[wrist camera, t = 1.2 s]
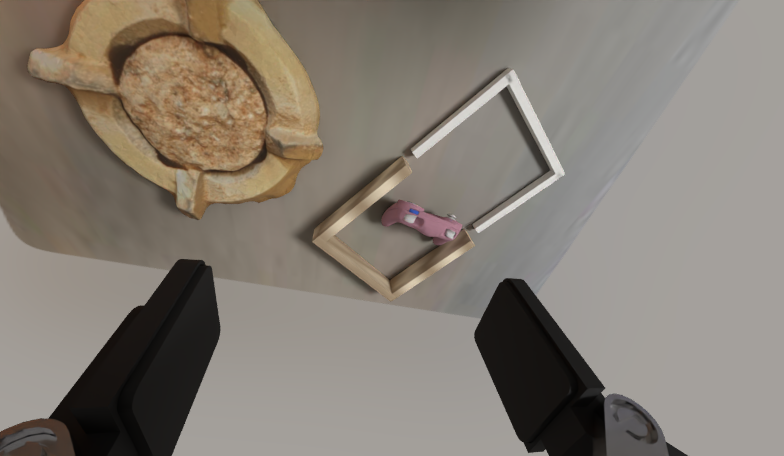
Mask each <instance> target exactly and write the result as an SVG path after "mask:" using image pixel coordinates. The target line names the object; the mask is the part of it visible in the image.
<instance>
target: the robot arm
mask: <svg viewBox="0 0 784 456" xmlns="http://www.w3.org/2000/svg"><path fill="white" fill-rule="evenodd" d="M474 335H475V337H474V338H475V342H476V344H477V346H478V349H479V351H480V353H481V355H482V358H483V360H484V362H485V364H486V367H487V369H488V371H489V373H490V376H491V378H492V380H493V383H494V385H495V387H496V389H497V392H498V394H499V396H500V398H501V401H502V403H503V405H504V407H505V409H506V412H507V414H508V416H509V419H510V421H511V423H512V425H513V428H514V430H515V432H516V435H517V436H518V438H519V439H520V440H521V441H522V442H524V444H525V446H526V449H527V451H528V453H531V452H543V451H544V450H545V449H546V450H547V453H548V454H549V456H687V455H686V454H684V453H683V452H681V451H680V450H678V449H677V448H675V447H673V446H672V445H670V444H669V443H667V442H666V441H665V437H664V435H663V432H662V430H661V428H660V426H659V425H658V423H657V422H656V421H655V419H654V418H653V417H652V416H651V415H650V414H649V413H648V412H647V411H646V410H645V409H644V408H643V407H642V406H640V405H639V404H637V403H636V402H635V401H633V400H632V399H630V398H628V397H625V396H623V395H619V394H609V395H608V396H607V397H606V398H604V396H603V395H602V393H601V392H602V391H603V390H604V389H605V387H604V386H603V384H602V383H601V382H600V380H599V379H598V378H597V376H596V375H595V374H594V372H593V371H592V370H591V368H590V367H589V366H588V364H587V363H586V362H585V360H584V359H583V358H582V356H581V355H580V354H579V352H578V351H577V350H576V348H575V347H574V346H573V344H572V343H571V342H570V340H569V339H568V338H567V337H566V335H565V334H564V333H563V331H562V330H561V329H560V328H559V326H558V325H557V323H556V322H555V321H554V319H553V318H552V317H551V316H550V314H549V313H548V311H547V310H546V309H545V307H544V306H543V305H542V303H541V302H540V301H539V299H537V297H536V295H535V294H534V293H533V291H532V290H531V289H530V287H529V286H528V285H527V283H526V282H525V281H524V280H522V279H511V278H506V279H504V280H503V282H501V283H499V285H498V287H497V289H496V291H495V293H494V295H493V297H492V299H491V301H490V303H489V305H488V307H487V309H486V311H485V312H484V314H483V316H482V318H481V320H480V323H479V324H478V326H477V328H476V330H475V334H474ZM219 336H220V322H219V316H218V308H217V302H216V294H215V287H214V281H213V273H212V268H211V266H206V265H205V262H204V261H202V260H188V259H180V260H178V261H177V262H176V263H175V265H174V266H173V267H172V269H171V270H170V271H169V273H168V274H167V275H166V277H165V278H164V280H163V281H162V282H161V284H160V285H159V287H158V288H157V289H156V291H155V292H154V293H153V295H152V296H151V297H150V299H149V300H148V302H147V303H146V304H145V306H138V307H136V308H134V309H133V310H132V311H131V312H130V313H129V314H128V315H127V317H126V318H125V319H124V321H123V322H122V323H121V325H120V326H119V327H118V329H117V330H116V331H115V332H114V334H113V335H112V336H111V338H110V339H109V340H108V341H107V343H106V344H105V345H104V347H103V348H102V349H101V351H100V352H99V353H98V354H97V356H96V357H95V359H94V360H93V361H92V362H91V364H90V365H89V366H88V368H87V369H86V370H85V372H84V373H83V374H82V375H81V377H80V378H79V379H78V381H77V382H76V383H75V384H74V386H73V387H72V388H71V390H70V391H69V392H68V394H67V395H66V396H65V397H64V399H63V400H62V401H61V403H60V404H59V405H58V407H57V408H56V409H55V411H54V412H53V413H52V415H51V416H50V417H49V418H48V419H42V418H40V419H36V420H31V421H26V422H22V423H20V424H17V425H14V426H12V427H9V428H7V429H5V430H3V431H1V432H0V456H172V454H173V451H174V449H175V446H176V443H177V441H178V439H179V436H180V433H181V431H182V429H183V426H184V424H185V421H186V419H187V416H188V414H189V411H190V409H191V406H192V404H193V402H194V399H195V397H196V394H197V392H198V389H199V387H200V384H201V382H202V379H203V377H204V374H205V372H206V369H207V367H208V365H209V362H210V360H211V357H212V355H213V352H214V350H215V347H216V345H217V342H218V340H219Z"/></svg>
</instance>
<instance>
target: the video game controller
mask: <svg viewBox="0 0 784 456" xmlns="http://www.w3.org/2000/svg"><path fill="white" fill-rule="evenodd" d="M448 216H450V217H440V216H437V215H434V214H431V213H427V212H426V213H425V212H424V209H423V208H421V207H419V206H417V205H416V204H414V203H411V202H408V201H407V202H406V201H402V200H398V202H397V203H395V204H393V205H392V206H390V207H389V208H388V209H387V210H386V211H385V212H384V214H383V216H382V225H383V226H390V225H392V224H394V223H396V222H400V223H402V224H405V225H407V226H409V227H412V228H414V229H416V230H418V231H419V232H420V233H422V234H424V235H426V236H430V237H433V243H434V244H435V245H442V244H444V243H446V242H448V241H452V240H454V239H455V238H456V237H457V235H458V234H459V232H460V230H461V228H462V224H460V223H458V222H457V221H455V219H454V218H456V217H455V216H454V215H452V214H448Z"/></svg>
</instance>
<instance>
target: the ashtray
mask: <svg viewBox="0 0 784 456" xmlns="http://www.w3.org/2000/svg"><path fill="white" fill-rule="evenodd" d="M27 69H28V72H29V73H30V75H31V76H32V77H34V78H37V79H40V80H44V81H47V82H50V83H58V84H62V85H65V86H66V87H67V88H68V90H69V91H70V92H71V93H72V94H73V96H74V98H75V99H76V101H77V102H78V104H79V106H80V108H81V110H82V112H83V115H84V117H85V118H86V120H87V121H88V123H89V124H90V126H91V127H92V128H93V130H94V131H95V132H96V134H97V135H98V136H99V137H100V138H101V139H102V141H103V142H104V143H105V144H106V145H107V146H108V147H109V148H110V150H111V151H112V152H113V153H114V154H115V155H116V156H117V157H119V158H120V159H121V160H122V161H123V162H124V163H125V164H126V165H128V166H130V167H131V168H133V169H134V170H135V171H136V172H137V173H138V174H140V175H141V176H143V177H145V178H146V179H148V180H150V181H152V182H153V183H155V184H156V185H158V186H159V187H162V188H164V189H166V190H167V191H168V192H170V193H171V194H172V195H173V196H174V199H175V202H176V206H177V207H178V209H179V210H180V211H181V212H182V213H183V214H184V215H186V216H188V217H190V218H194V219H197V220H200V219H201V218H202V216H203V214H204V212H205V210H206V208H207V207H208V206H209V205H210V204H213V203H223V204H240V203H244V202H249V201H255V202H258V203H260V202H263V201H266V200H268V199H271V198H278V197H281V196H283V195H285V194H287V193H289V192H290V191H291V190H292V189H293V187H294V185H295V181H296V178H297V175H298V173H299V171H300V169H301V168H302V167H304V166H305V165H306V164H308V163H309V162H310V161H311V160H318V158H319V157H320V156H321V154H322V152H323V144H322V142H321V140H320V138H318V136H317V129H318V125H319V117H320V111H319V105H318V100H317V97H316V95H315V92H314V89H313V86H312V84H311V81H310V79H309V77H308V74H307V72H306V71H305V69H304V67H303V66H302V64H301V62H300V61H299V59H298V58H297V57H296V55H295V54H294V53H293V51H292V50H291V49H290V47H289V46H288V44H287V43H286V41H285V40H284V39H283V38H282V36H281V35H280V34H279V32H278V31H277V30H276V28H275V27H274V26H273V25H272V23H271V21H270V19H269V18H268V16H267V14H266V13H265V11H264V10H263V8H262V6H261V5H260V4H259V2H258V1H257V0H84V1H83V3H82V4H81V5H80V6H78V7H77V8H76V12H75V13H74V15H73V17H72V20H71V22H70V30H69V35H68V37H67V39H66V41H65V42H64V43H63V44H62V45H60V46H58V47H54V48H47V49H35V50H33V51H32V52H31V53H30V57H29V61H28V65H27Z"/></svg>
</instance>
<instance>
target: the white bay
mask: <svg viewBox="0 0 784 456" xmlns="http://www.w3.org/2000/svg"><path fill="white" fill-rule="evenodd" d="M506 86H507V88H508V90H509V92H510V94H511V96H512V98H513V100H514V102H515V104H516V105H517V107H518V109H519V111H520V113H521V115H522V117H523V119H524V121H525V123H526V125H527V126H528V128H529V130H530V132H531V134H532V136H533V138H534V140H535V142H536V144H537V145H538V147H539V149H540V151H541V153H542V155H543V157H544V159H545V161H546V163H547V165H548V166H549V168H550V171H549V172H547V173H546V174H544V175H543V176H541V177H540V178H538V179H537V180H536V181H534V182H533V183H531V184H530V185H528V186H527V187H525V188H524V189H523V190H521V191H520V192H518V193H517V194H515V195H514V196H512V197H511V198H510V199H508V200H507V201H505V202H504V203H502V204H501V205H499V206H498V207H496V208H495V209H494V210H492V211H491V212H489V213H488V214H486V215H485V216H483V217H482V218H481V219H479V220H478V221H476V222H475V223H473V224H472V225H473V227H474V228H475V230H476V231H477V232H478V233H479V232H481V231H482V230H484V229H485V228H487V227H488V226H490V225H491V224H493V223H494V222H496V221H497V220H498V219H500V218H501V217H503V216H504V215H506V214H507V213H509V212H510V211H512V210H513V209H515V208H516V207H518V206H519V205H521V204H522V203H524V202H525V201H527V200H528V199H529V198H531V197H532V196H534V195H535V194H537V193H538V192H540V191H541V190H543V189H544V188H546V187H547V186H549V185H550V184H552V183H553V182H555V181H556V180H558V179H559V178H561V177H562V176H563V175H565V173H564V171H563V169H562V167H561V164H560V162H559V160H558V158H557V156H556V154H555V152H554V150H553V148H552V146H551V144H550V142H549V140H548V138H547V136H546V134H545V132H544V130H543V128H542V126H541V124H540V122H539V120H538V118H537V116H536V114H535V112H534V110H533V108H532V106H531V104H530V102H529V100H528V98H527V96H526V94H525V92H524V90H523V88H522V86H521V84H520V82H519V80H518V78H517V76H516V74H515V71H514V69H511V68H508V69H506V70H505V71H504V72H503V73H502V74H500V75H499V76H498V77H497V78H495V79H494V80H493V81H492V82H491V83H489V84H488V85H487V86H486V87H485V88H483V89H482V90H481V91H480V92H479V93H477V94H476V95H475V96H474V97H473V98H471V99H470V100H469V101H468V102H467V103H465V104H464V105H463V106H462V107H461V108H459V109H458V110H457V111H456V112H454V113H453V114H452V115H451V116H450V117H448V118H447V119H446V120H445V121H444V122H442V123H441V124H440V125H439V126H438V127H436V128H435V129H434V130H433V131H432V132H430V133H429V134H428V135H427V136H426V137H424V138H423V139H422V140H421V141H420V142H418V143H417V144H416V145H415V146H413V147H412V148H411V151H412V153H413V154H414V155H415V156H416V157H417V158H418V157H420V156H421V155H422V154H423V153H425V152H426V151H427V150H428V149H429V148H431V147H432V146H433V145H434V144H436V143H437V142H438V141H439V140H441V139H442V138H443V137H444V136H446V135H447V134H448V133H449V132H450V131H452V130H453V129H454V128H455V127H457V126H458V125H459V124H460V123H462V122H463V121H464V120H465V119H466V118H468V117H469V116H470V115H471V114H473V113H474V112H475V111H476V110H478V109H479V108H480V107H481V106H482V105H484V104H485V103H486V102H487V101H489V100H490V99H491V98H492V97H494V96H495V95H496V94H497V93H498V92H500V91H501V90H502V89H503V88H505V87H506Z"/></svg>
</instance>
